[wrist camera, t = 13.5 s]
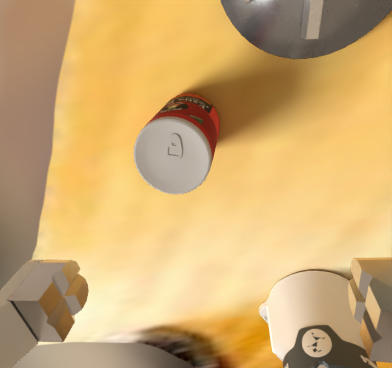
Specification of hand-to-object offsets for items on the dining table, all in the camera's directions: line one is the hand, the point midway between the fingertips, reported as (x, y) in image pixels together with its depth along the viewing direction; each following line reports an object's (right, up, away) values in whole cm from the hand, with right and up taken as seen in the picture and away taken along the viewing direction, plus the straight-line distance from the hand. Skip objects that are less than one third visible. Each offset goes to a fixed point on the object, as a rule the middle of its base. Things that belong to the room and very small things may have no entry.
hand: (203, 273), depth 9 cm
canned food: (-1, +10, +28) cm, 30 cm away
